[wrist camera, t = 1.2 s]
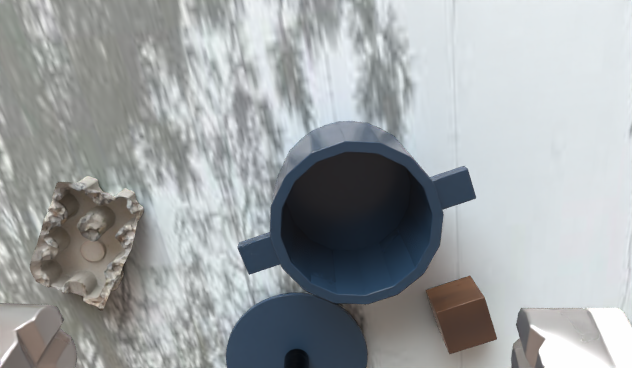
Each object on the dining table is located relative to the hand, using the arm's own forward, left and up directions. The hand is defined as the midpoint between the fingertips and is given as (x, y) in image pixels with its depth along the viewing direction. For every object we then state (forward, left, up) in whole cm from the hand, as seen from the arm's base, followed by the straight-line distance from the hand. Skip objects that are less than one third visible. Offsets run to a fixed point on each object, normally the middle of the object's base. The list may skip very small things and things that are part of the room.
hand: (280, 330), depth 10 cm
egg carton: (-5, +22, -39) cm, 45 cm away
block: (-23, -7, -38) cm, 45 cm away
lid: (-23, +9, -38) cm, 45 cm away
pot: (-9, -1, -38) cm, 39 cm away
